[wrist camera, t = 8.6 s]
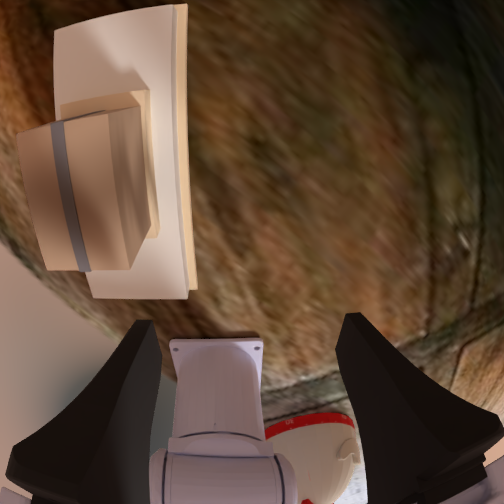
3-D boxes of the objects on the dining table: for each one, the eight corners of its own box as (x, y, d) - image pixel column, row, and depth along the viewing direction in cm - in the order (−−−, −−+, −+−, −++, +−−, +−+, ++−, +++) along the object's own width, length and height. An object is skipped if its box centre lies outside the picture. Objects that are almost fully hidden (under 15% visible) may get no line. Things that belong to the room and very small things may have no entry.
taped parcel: (160, 228, 17) (137, 286, 13) (88, 231, 17) (48, 284, 12) (150, 89, 13) (111, 91, 9) (70, 102, 13) (10, 116, 8)
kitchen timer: (293, 459, 42) (306, 536, 29) (235, 440, 36) (242, 538, 23) (367, 426, 38) (393, 510, 25) (321, 401, 32) (349, 515, 19)
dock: (188, 6, 13) (182, -5, 11) (197, 284, 22) (195, 304, 20) (65, 29, 12) (48, 25, 10) (98, 285, 22) (89, 303, 20)
